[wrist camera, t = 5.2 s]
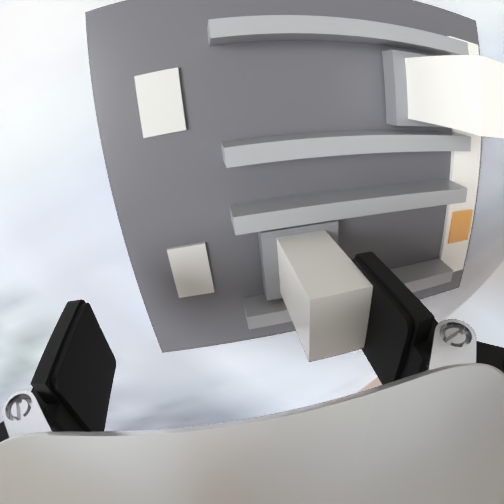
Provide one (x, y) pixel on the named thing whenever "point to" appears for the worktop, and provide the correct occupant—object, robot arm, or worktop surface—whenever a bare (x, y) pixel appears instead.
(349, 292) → the switch
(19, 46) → the worktop surface
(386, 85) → the switch
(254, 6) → the switch unit
